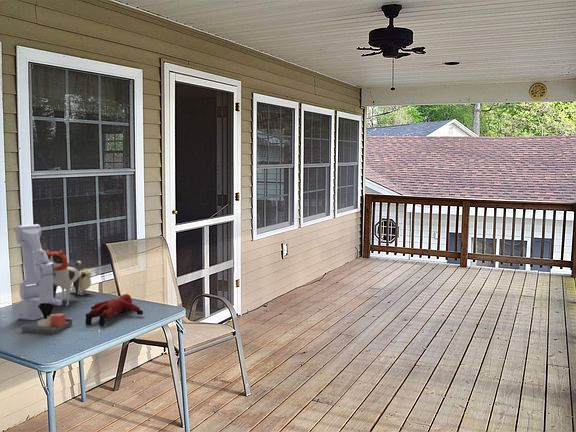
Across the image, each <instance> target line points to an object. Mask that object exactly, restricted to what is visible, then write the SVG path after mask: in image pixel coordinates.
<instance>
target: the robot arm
mask: <svg viewBox="0 0 576 432" xmlns="http://www.w3.org/2000/svg"><path fill="white" fill-rule="evenodd" d="M41 236H42V227H41V225H40V224H38V223H36V224H26V225H25V224H24V225H23V224H22V225H20V224H19V225H17V226H16V227H15V241H16V244H19V245H20V247H21V253H22V259H23V260H22V262H23V268H24V269H23V271H24V277H25V279H24V280H23V281H22V282H20V284H19V296H20V298H21V299H20V301H19V302H18V317H17V319H18V320H29V321H37V320H38V319H39V320H40V319H42V317H44V319H47V316H49V315H52V313H53V309H54V307H56V306H61V305H63V300H61V299H57V298H55V299H54V298H53V276H52V275H54V272H55V269H54V265H53V263H52V262H51V261H49V259H48V256H47V254H46V249H45V250H44V249H43V248H42V244H41V240H40V239H41Z"/></svg>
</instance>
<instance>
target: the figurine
mask: <svg viewBox="0 0 576 432" xmlns="http://www.w3.org/2000/svg"><path fill="white" fill-rule="evenodd" d="M45 251H46V254H47V256H48V259H49V261H51V262H52V263H53V265H54V269H55V272H54V275H52V276H53V298H54V299H56V295H57V288H58V287H60V289H61V292H62V293H61V299H60V300H62V301H64V300H65V292H66V298H67V301H66V304H65V306H69V305H70V302H69V300H70V295H71V290H72V288H71V287H72V285H73V286H74V287H75V289H76V290H75V297H74V299H73V301H78V295H79V294H78V285H79V279H80V275H81V273H80V271H81V270H80V268H79V266H80V265H81V264H82V261H81V260H76V262H74V263H72V262H68V257H67V256H66V254H64V250H63V248H60V250H59V251H51V250H50V249H48V248H46V249H45Z"/></svg>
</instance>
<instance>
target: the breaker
mask: <svg viewBox="0 0 576 432" xmlns="http://www.w3.org/2000/svg"><path fill="white" fill-rule="evenodd" d="M37 321H38V320H37ZM38 326H44V327H49V326H50V319H42V318H40V319H39V321H38Z"/></svg>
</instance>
